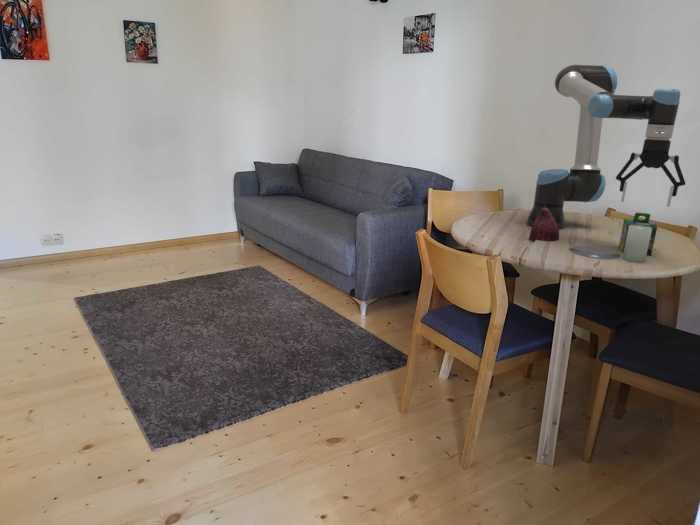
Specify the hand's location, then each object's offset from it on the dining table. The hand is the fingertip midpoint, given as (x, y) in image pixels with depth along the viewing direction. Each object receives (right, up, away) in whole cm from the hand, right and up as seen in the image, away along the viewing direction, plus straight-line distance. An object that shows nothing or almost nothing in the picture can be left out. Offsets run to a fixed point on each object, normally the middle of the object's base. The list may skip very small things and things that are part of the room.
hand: (644, 203), depth 174 cm
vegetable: (-27, -12, +19) cm, 35 cm away
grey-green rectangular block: (-6, -20, -5) cm, 21 cm away
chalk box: (-1, -17, +6) cm, 18 cm away
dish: (-16, -17, +2) cm, 24 cm away
